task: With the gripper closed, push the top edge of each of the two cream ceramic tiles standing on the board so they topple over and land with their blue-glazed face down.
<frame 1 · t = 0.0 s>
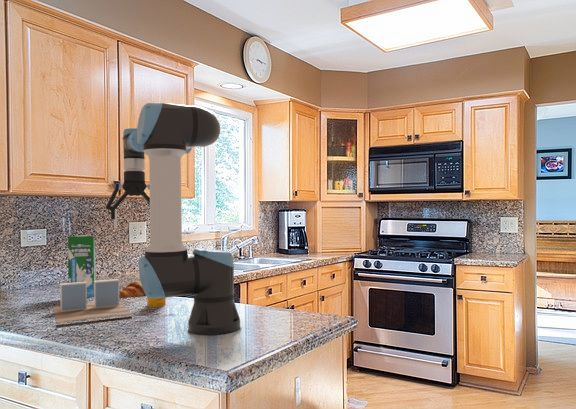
hand: (135, 228, 178), 28 cm above the counter, fingers open, 13 cm apart
beer can: (156, 309, 167), on the counter
milk carton: (82, 299, 188), on the counter
croissant: (139, 298, 189), on the counter
tile b: (106, 306, 166), point 1 cm above the counter, touching board
board: (91, 314, 160), on the counter
tile a: (73, 309, 161), point 1 cm above the counter, touching board
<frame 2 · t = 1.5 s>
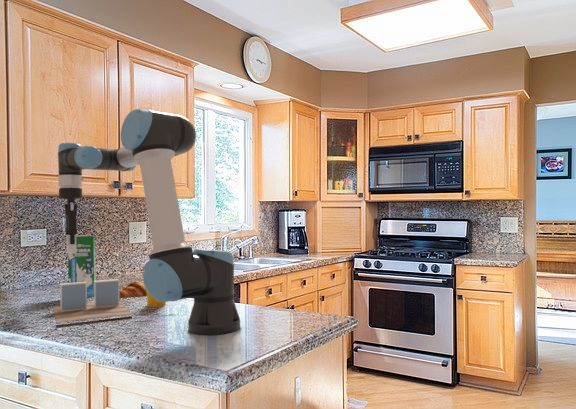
hand: (71, 252, 168), 20 cm above the counter, fingers open, 7 cm apart
nothing on the counter moved.
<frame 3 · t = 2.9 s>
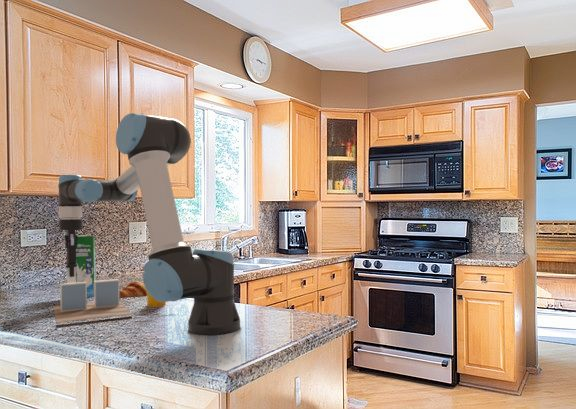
hand: (71, 285, 169), 8 cm above the counter, fingers closed
nothing on the counter moved.
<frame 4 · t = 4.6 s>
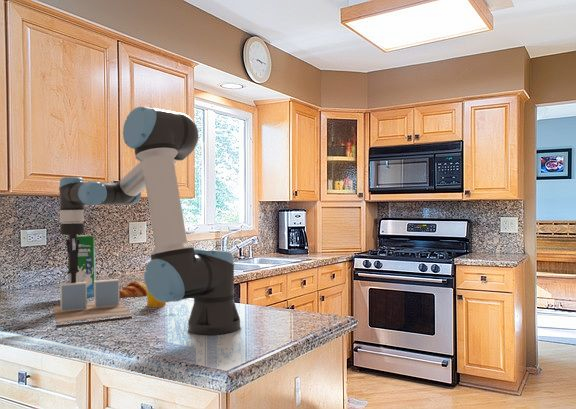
hand: (73, 291, 163), 7 cm above the counter, fingers closed
tile a: (73, 309, 161), point 2 cm above the counter, touching board, gripper
everything else where it was.
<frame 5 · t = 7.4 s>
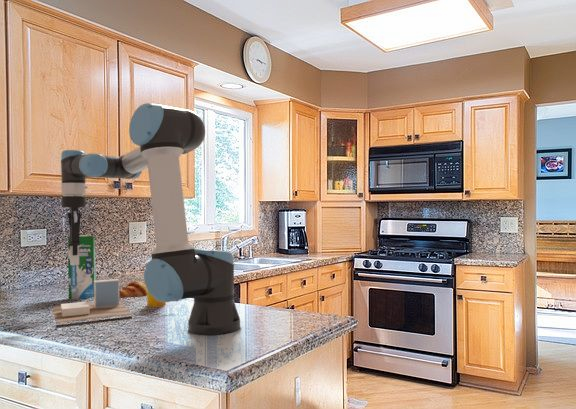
hand: (74, 264, 164), 16 cm above the counter, fingers closed
tile a: (74, 306, 160), point 3 cm above the counter, tilted 90°, touching board
everything else where it was.
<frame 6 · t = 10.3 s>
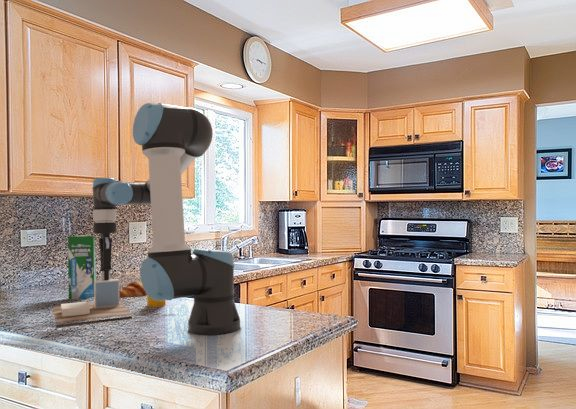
hand: (106, 289, 168), 7 cm above the counter, fingers closed
tile b: (106, 306, 166), point 2 cm above the counter, touching board, gripper
everything else where it was.
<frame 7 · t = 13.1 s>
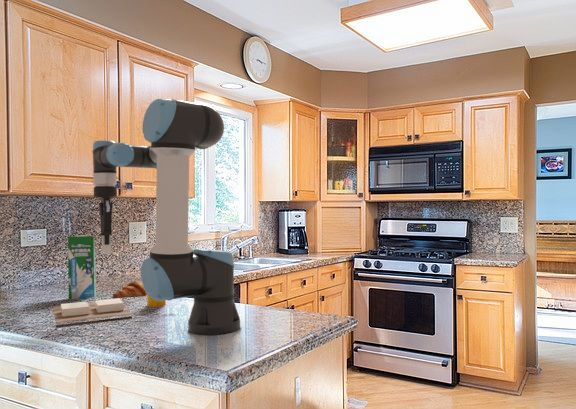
hand: (106, 254, 166), 20 cm above the counter, fingers closed
tile b: (107, 302, 165), point 3 cm above the counter, tilted 90°, touching board
everything else where it was.
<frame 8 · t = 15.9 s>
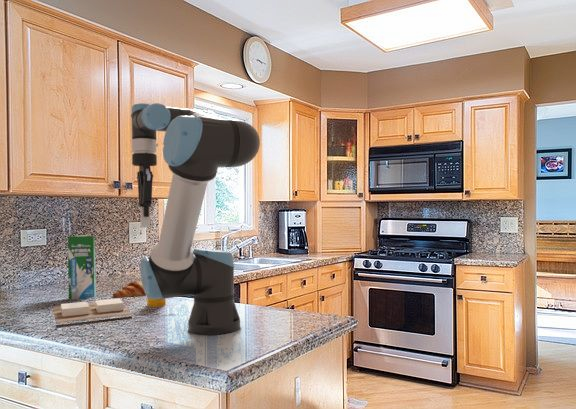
hand: (145, 227, 153), 29 cm above the counter, fingers closed
nothing on the counter moved.
at the end: tile a tilted 90°; tile b tilted 90°; tile a inside the target area on the board (5.6 cm from its centre), point 2.9 cm above the board's base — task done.
